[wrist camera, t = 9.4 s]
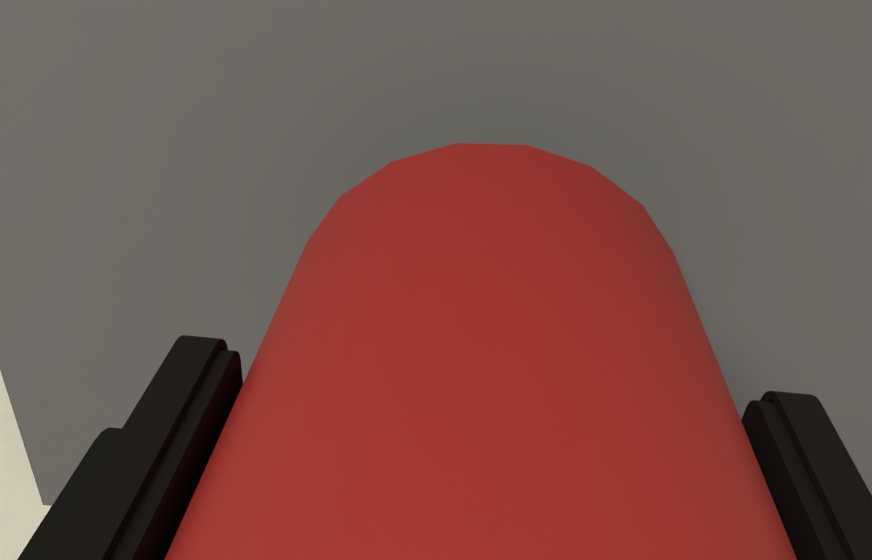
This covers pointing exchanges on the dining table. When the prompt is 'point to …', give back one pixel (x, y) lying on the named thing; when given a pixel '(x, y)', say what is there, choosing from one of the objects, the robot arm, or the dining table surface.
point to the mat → (406, 136)
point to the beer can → (484, 385)
